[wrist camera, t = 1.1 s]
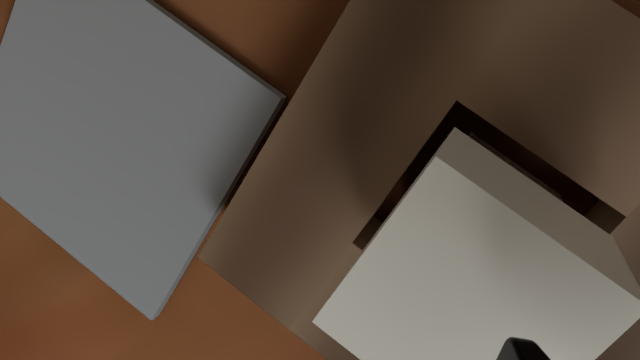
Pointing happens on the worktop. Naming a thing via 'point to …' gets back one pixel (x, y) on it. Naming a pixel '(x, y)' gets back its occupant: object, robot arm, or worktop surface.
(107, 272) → the grey mat
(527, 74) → the walnut bore block
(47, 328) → the worktop surface
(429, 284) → the end cover
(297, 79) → the worktop surface
